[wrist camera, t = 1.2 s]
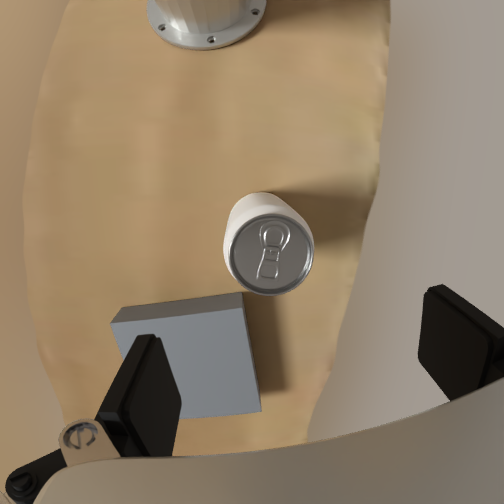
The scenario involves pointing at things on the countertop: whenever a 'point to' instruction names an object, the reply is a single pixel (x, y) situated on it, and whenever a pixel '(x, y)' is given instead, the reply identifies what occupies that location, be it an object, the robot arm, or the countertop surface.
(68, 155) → the countertop surface
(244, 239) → the can
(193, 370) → the base block
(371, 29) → the countertop surface
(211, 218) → the countertop surface
